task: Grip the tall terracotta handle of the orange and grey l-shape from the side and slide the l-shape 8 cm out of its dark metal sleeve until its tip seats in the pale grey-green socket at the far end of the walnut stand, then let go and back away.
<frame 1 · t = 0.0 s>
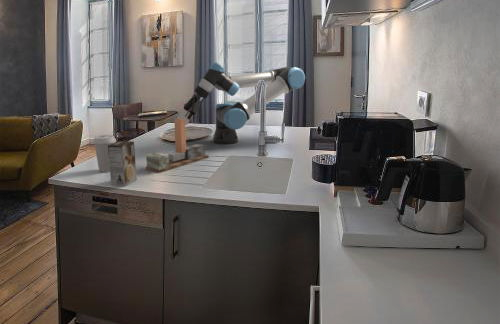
hand: (181, 122, 201), 15 cm above the worktop, tool tilted 35°, fingers open, 13 cm apart
orange and grey l-shape: (184, 137, 179), point 12 cm above the worktop, slide at 0.0 cm
tube stand: (184, 161, 182), on the worktop
coffee box: (124, 183, 150), on the worktop
coffee cup: (107, 170, 166), on the worktop
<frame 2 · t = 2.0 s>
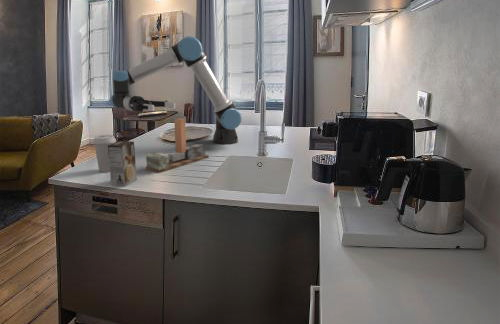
hand: (164, 106, 178), 26 cm above the worktop, tool horizontal, fingers open, 13 cm apart
nothing on the worktop moved.
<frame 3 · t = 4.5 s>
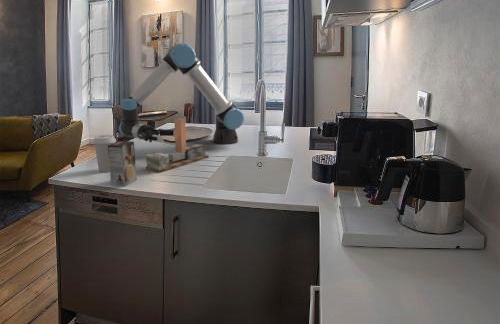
hand: (173, 137, 179), 12 cm above the worktop, tool horizontal, fingers open, 13 cm apart
nothing on the worktop moved.
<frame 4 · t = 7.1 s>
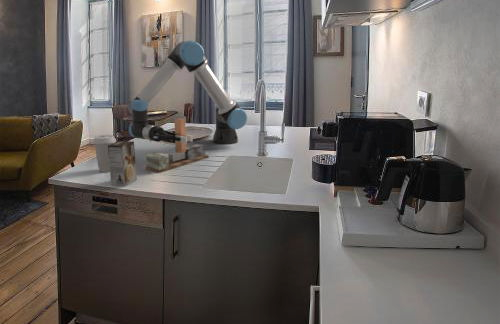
hand: (189, 139, 174), 12 cm above the worktop, tool horizontal, fingers closed on orange and grey l-shape, 3 cm apart
orange and grey l-shape: (184, 137, 179), point 12 cm above the worktop, slide at 0.0 cm, touching gripper
everything else where it was.
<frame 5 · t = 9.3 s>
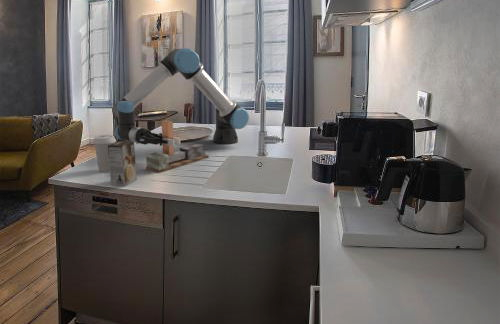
hand: (176, 142, 167), 12 cm above the worktop, tool horizontal, fingers closed on orange and grey l-shape, 3 cm apart
orange and grey l-shape: (172, 140, 173), point 12 cm above the worktop, slide at 8.1 cm, touching gripper
everything else where it was.
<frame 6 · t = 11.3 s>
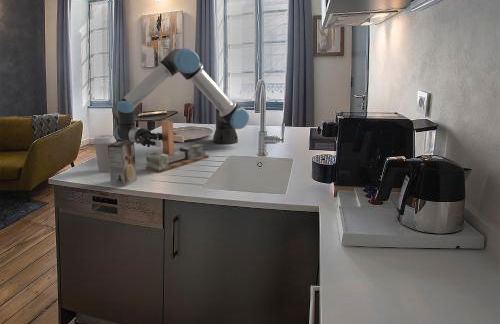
hand: (172, 141, 168), 12 cm above the worktop, tool horizontal, fingers open, 13 cm apart
orange and grey l-shape: (172, 140, 173), point 12 cm above the worktop, slide at 8.0 cm
everything else where it was.
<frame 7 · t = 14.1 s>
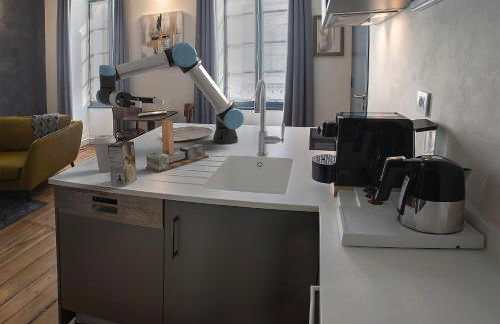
hand: (152, 103, 172), 28 cm above the worktop, tool horizontal, fingers open, 13 cm apart
nothing on the worktop moved.
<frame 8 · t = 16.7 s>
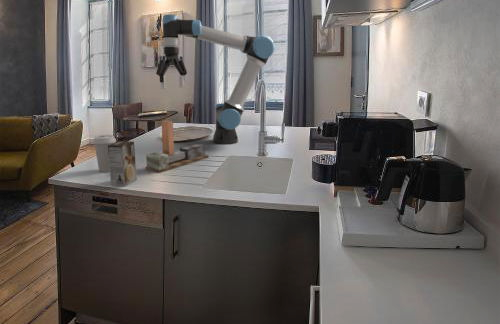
hand: (172, 88, 200), 33 cm above the worktop, tool pointing down, fingers open, 13 cm apart
nothing on the worktop moved.
at the end: orange and grey l-shape slide at 8.0 cm; the gripper is holding nothing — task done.
